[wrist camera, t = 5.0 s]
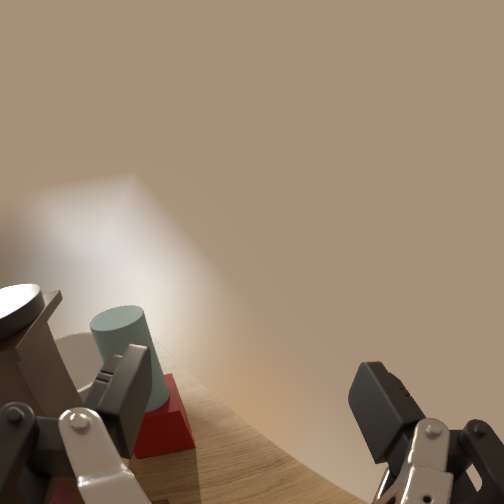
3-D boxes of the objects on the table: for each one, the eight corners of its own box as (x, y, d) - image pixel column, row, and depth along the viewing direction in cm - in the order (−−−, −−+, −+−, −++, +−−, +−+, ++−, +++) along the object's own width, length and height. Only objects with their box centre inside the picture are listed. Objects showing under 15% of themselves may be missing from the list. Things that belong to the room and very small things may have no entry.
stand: (169, 502, 27) (60, 289, 20) (185, 559, 18) (15, 348, 11) (105, 509, 24) (-25, 308, 17) (110, 563, 15) (-80, 359, 8)
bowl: (158, 403, 50) (143, 363, 47) (43, 458, 31) (14, 418, 29) (111, 354, 69) (99, 321, 66) (25, 389, 50) (8, 356, 48)
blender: (185, 410, 48) (149, 297, 42) (195, 447, 38) (151, 325, 33) (134, 420, 45) (89, 310, 39) (137, 458, 35) (76, 340, 30)
